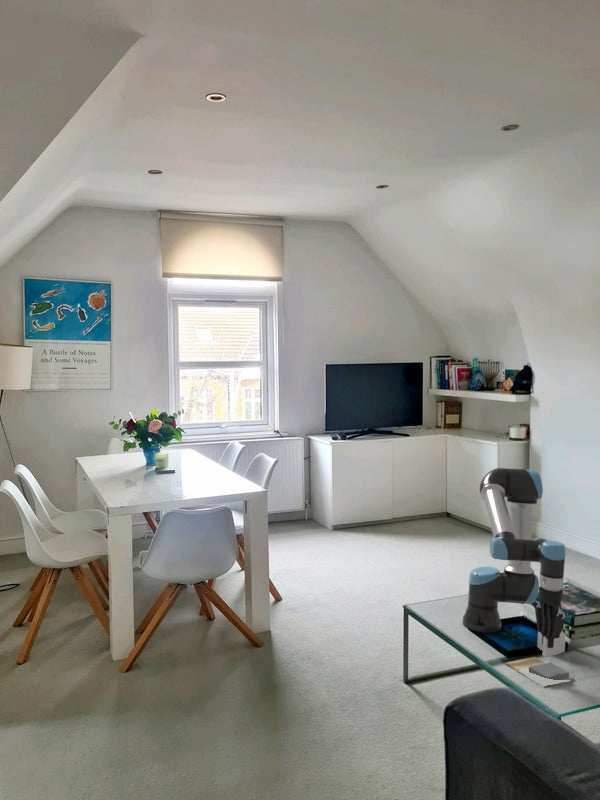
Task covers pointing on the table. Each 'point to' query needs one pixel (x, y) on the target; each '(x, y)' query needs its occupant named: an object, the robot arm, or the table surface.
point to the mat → (527, 664)
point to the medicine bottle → (558, 644)
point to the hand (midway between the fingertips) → (546, 655)
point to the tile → (549, 671)
